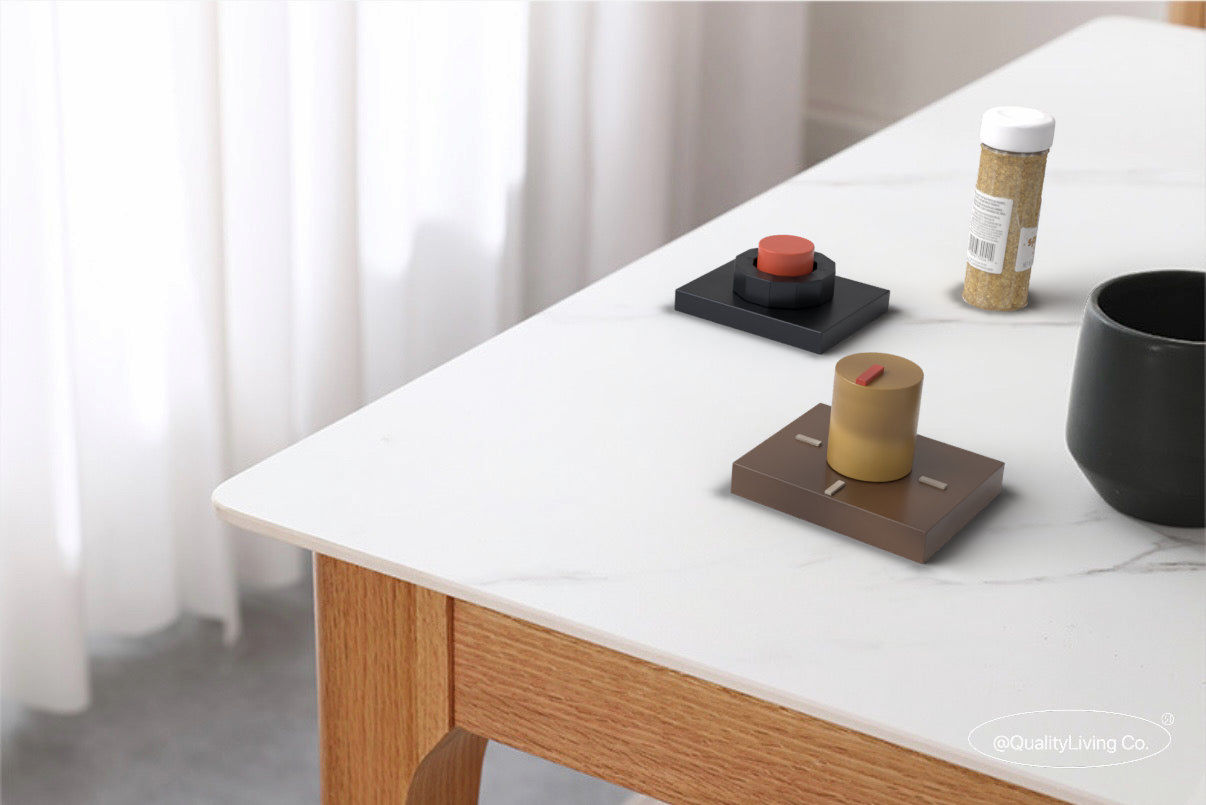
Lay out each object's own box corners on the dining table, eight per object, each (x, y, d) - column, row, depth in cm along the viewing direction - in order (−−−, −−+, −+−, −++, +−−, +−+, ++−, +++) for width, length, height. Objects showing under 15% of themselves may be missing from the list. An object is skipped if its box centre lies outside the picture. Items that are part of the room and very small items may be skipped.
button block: (887, 320, 104) (893, 264, 102) (819, 365, 97) (824, 305, 95) (746, 280, 109) (750, 226, 108) (673, 320, 103) (675, 263, 101)
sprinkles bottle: (1039, 318, 104) (1069, 121, 98) (976, 323, 103) (1003, 125, 97) (1007, 293, 108) (1035, 102, 102) (946, 297, 107) (971, 105, 101)
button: (822, 268, 102) (825, 242, 101) (794, 284, 99) (796, 258, 99) (775, 255, 104) (777, 230, 103) (746, 270, 101) (748, 245, 101)
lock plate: (999, 504, 82) (1006, 459, 81) (921, 577, 76) (927, 529, 74) (816, 441, 88) (820, 399, 87) (729, 504, 81) (732, 459, 80)
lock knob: (850, 433, 83) (859, 339, 81) (926, 457, 81) (939, 361, 79) (811, 465, 80) (820, 368, 78) (890, 491, 78) (901, 391, 75)
